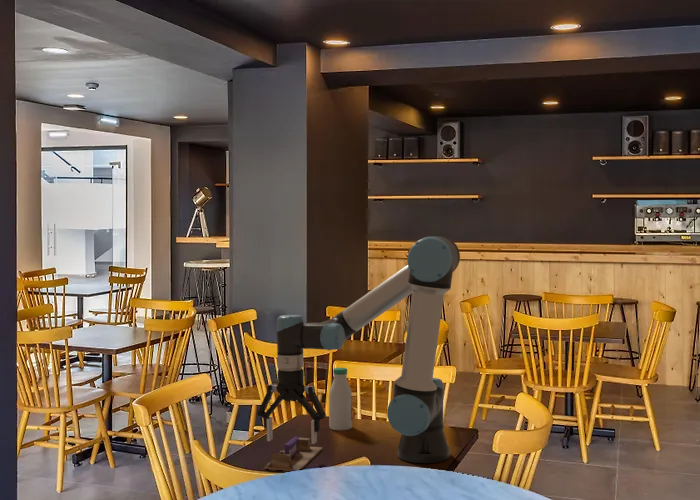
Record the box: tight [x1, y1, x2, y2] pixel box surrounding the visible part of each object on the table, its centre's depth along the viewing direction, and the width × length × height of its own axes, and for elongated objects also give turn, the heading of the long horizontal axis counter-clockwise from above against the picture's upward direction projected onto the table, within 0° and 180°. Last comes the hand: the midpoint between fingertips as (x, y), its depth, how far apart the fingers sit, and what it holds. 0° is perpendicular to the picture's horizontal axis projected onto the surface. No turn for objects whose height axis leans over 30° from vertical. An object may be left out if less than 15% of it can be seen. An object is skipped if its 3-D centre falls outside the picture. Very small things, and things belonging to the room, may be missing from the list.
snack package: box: [283, 434, 300, 458], centre depth 223 cm, size 12×2×5 cm, turn 165°
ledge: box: [264, 437, 323, 472], centre depth 223 cm, size 22×10×4 cm, turn 165°
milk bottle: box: [328, 367, 353, 431], centre depth 256 cm, size 8×8×20 cm
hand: (291, 441), depth 223 cm, fingers open, 13 cm apart
